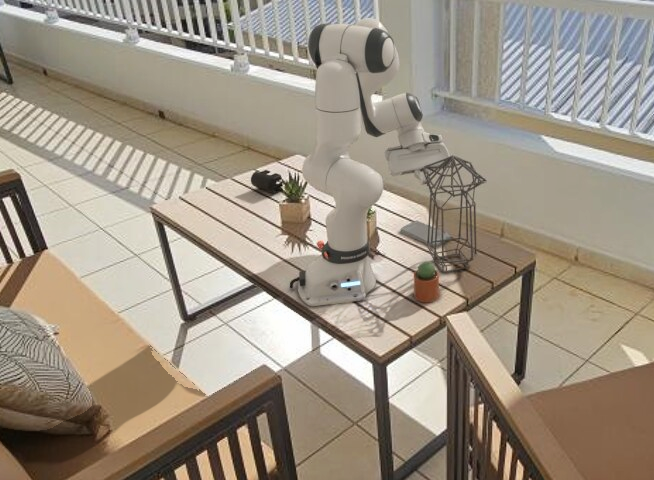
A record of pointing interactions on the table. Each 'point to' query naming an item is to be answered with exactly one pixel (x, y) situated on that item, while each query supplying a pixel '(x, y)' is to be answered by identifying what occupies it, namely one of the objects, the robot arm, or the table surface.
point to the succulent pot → (426, 283)
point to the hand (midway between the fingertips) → (425, 183)
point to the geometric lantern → (474, 174)
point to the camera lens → (267, 181)
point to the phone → (423, 232)
